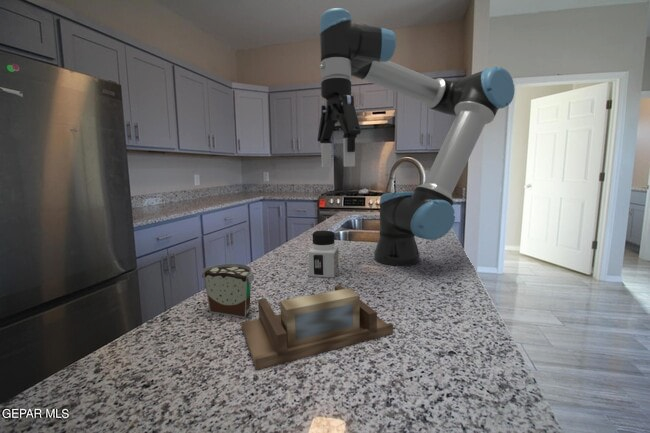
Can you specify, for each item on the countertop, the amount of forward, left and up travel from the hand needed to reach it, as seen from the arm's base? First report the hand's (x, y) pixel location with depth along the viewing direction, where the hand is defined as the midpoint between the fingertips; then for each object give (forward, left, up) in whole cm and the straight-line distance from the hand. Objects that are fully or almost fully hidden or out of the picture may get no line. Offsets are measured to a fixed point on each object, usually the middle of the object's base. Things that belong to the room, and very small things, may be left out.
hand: (337, 167), depth 81 cm
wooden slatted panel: (+15, +21, -32) cm, 41 cm away
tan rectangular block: (+15, +24, -31) cm, 42 cm away
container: (0, -10, -32) cm, 33 cm away
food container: (+28, +4, -32) cm, 43 cm away
